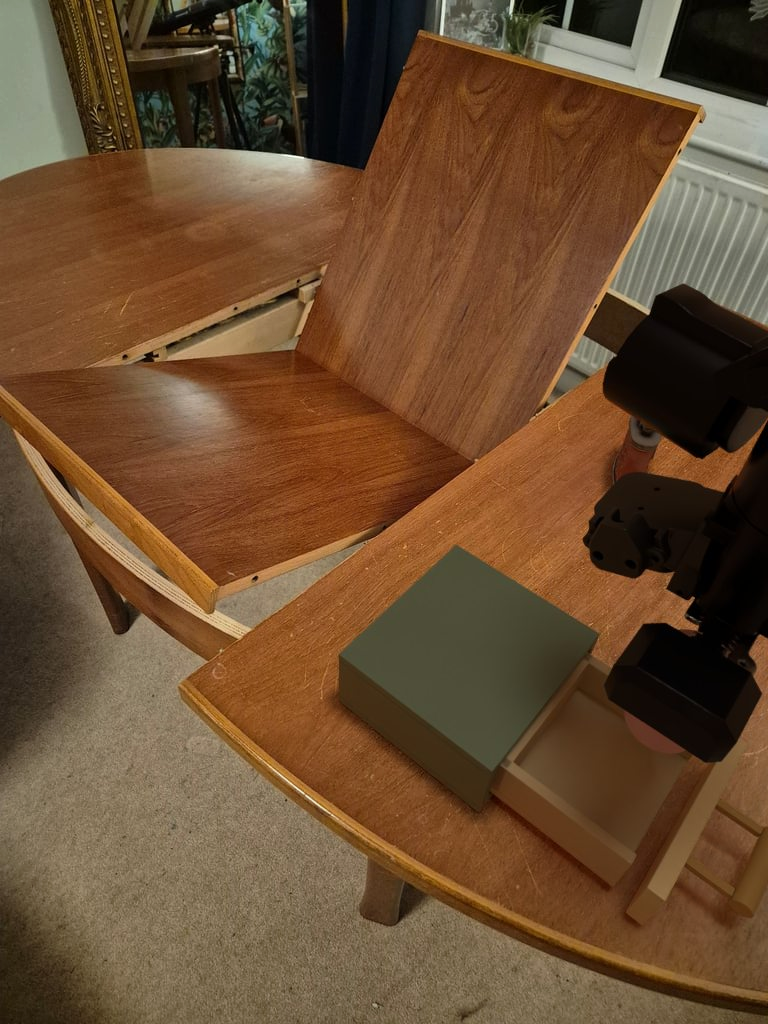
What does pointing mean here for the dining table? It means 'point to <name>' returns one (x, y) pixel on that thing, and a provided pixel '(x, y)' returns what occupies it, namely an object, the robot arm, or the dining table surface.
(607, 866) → the drawer
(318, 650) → the dining table surface
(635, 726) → the red cylinder
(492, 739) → the cabinet
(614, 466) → the brown elongated piece
